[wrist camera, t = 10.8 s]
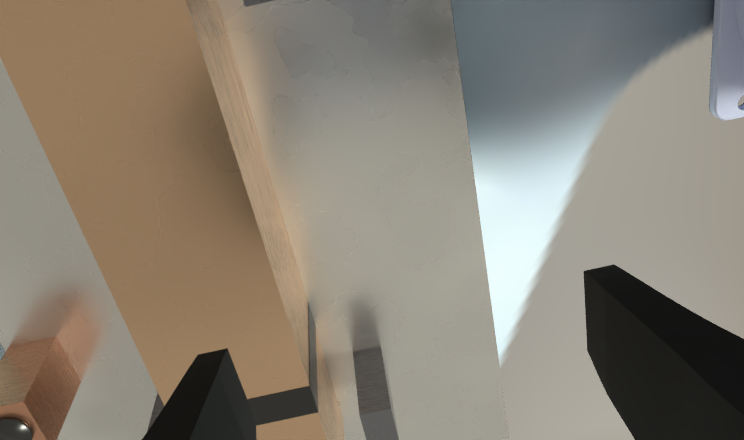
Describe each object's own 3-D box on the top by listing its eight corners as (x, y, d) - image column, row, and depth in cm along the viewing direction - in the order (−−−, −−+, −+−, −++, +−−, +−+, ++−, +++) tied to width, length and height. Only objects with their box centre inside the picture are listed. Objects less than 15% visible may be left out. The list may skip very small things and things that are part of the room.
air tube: (343, 421, 25) (350, 514, 21) (237, 443, 25) (226, 540, 21) (185, -112, 16) (153, -104, 13) (22, -75, 16) (-55, -57, 13)
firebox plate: (396, -323, 16) (430, -385, 12) (498, 410, 27) (533, 506, 23) (-261, -174, 16) (-452, -184, 12) (117, 492, 28) (85, 602, 23)
